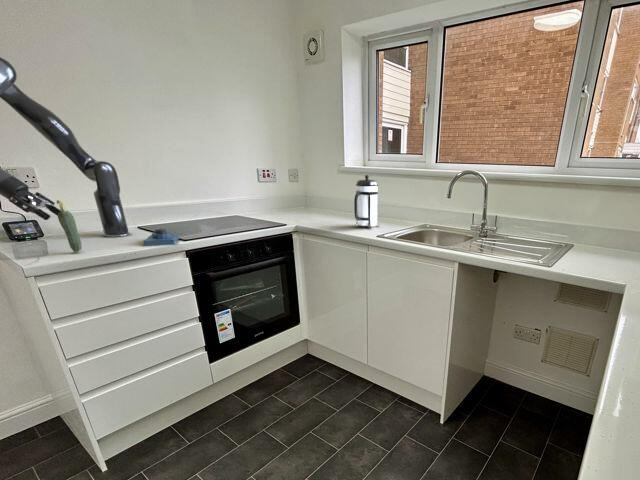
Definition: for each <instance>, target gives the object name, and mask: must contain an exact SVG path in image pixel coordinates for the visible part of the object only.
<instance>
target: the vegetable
mask: <svg viewBox="0 0 640 480" xmlns="http://www.w3.org/2000/svg"><path fill="white" fill-rule="evenodd" d="M56 205H58V208H59V210H61V211H60V212H59V213H58V216H57V219H58V222H59V224H60V226H61V228H62V229H63V231H64V233H65V236H66V239H67V242H68V244H69V248H70V249H71V250H72V251H73V253H74V254H75V253H76V254H78V253H80V252H81V250H82V248H83V246H82V240H81V237H80V233H79V231H78V227H77V223H76V220H75V217H74V215H73V214H72V213H71V212H70V211H69V210H68V207H67V205H66V204H65V203H64V202H63V201H61V200H60V199H56Z"/></svg>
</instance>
